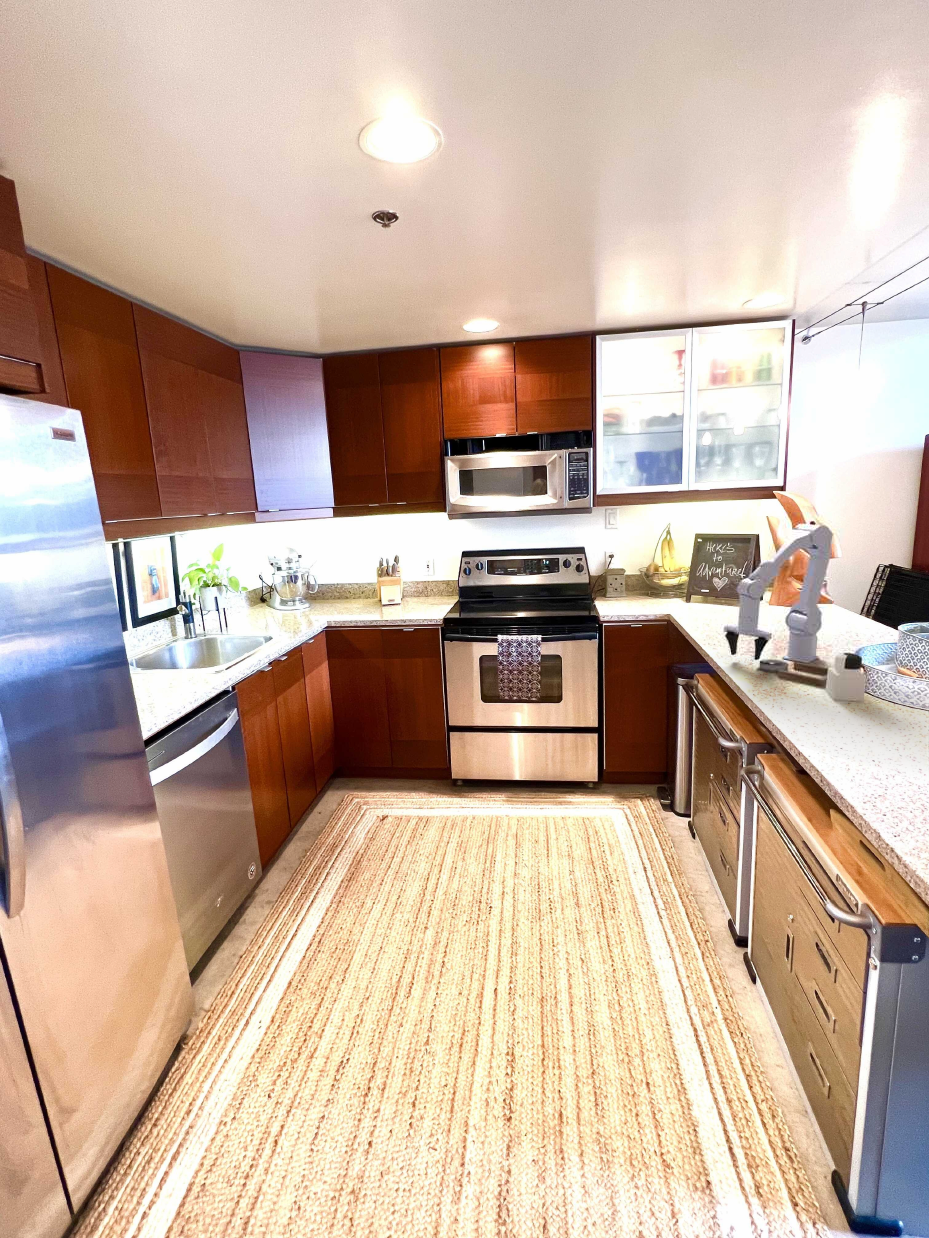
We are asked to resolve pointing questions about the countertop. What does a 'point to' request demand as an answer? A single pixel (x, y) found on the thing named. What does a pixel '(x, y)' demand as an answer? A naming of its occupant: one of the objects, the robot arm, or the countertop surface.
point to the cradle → (805, 678)
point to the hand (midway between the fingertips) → (745, 656)
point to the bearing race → (773, 666)
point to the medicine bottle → (846, 678)
